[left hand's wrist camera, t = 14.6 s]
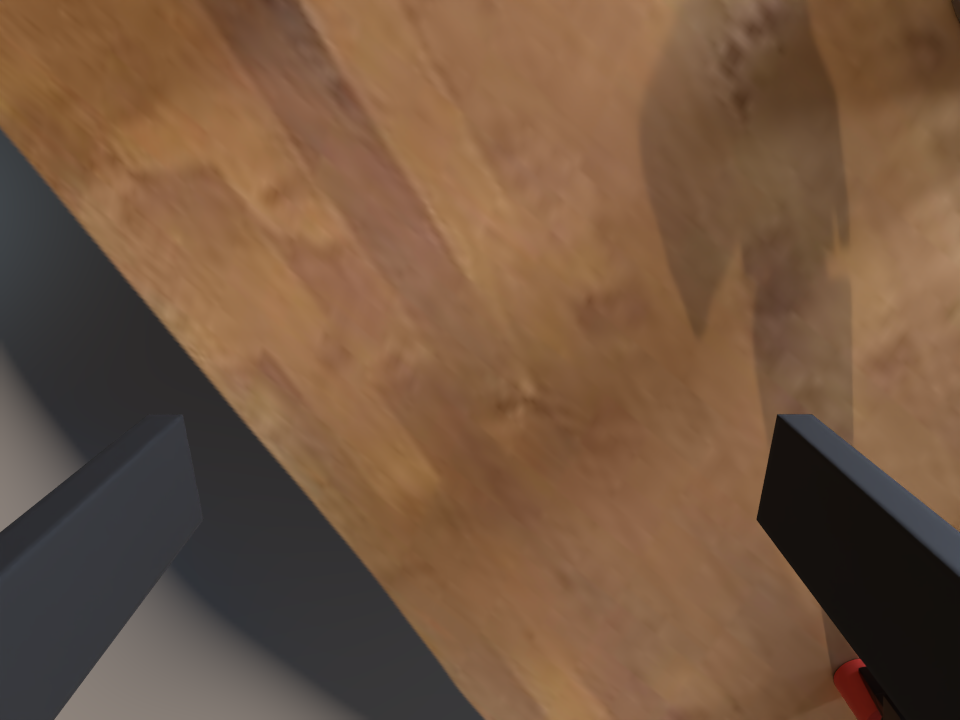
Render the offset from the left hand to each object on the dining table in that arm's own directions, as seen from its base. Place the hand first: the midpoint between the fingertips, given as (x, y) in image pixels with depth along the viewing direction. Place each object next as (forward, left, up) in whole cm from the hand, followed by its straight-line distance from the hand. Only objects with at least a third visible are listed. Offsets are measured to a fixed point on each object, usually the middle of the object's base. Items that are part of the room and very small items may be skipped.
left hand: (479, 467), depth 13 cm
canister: (-24, +45, -28) cm, 58 cm away
